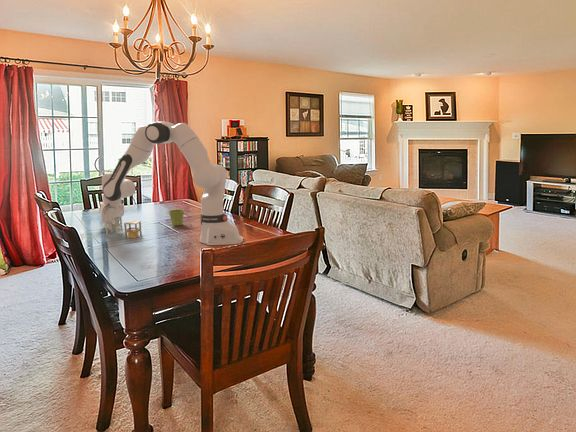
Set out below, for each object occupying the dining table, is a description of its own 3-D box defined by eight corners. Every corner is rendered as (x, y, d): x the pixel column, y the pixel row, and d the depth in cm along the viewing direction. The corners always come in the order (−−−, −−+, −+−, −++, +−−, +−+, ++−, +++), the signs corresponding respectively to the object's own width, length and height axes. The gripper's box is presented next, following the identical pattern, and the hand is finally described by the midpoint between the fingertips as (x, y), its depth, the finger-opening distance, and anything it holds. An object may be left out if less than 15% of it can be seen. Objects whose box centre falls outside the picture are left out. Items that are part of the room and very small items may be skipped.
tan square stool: (141, 235, 233) (140, 220, 232) (137, 238, 227) (136, 223, 225) (130, 235, 233) (129, 220, 232) (125, 238, 227) (124, 223, 226)
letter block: (138, 236, 232) (138, 228, 231) (135, 237, 228) (135, 230, 227) (131, 235, 232) (130, 228, 231) (128, 237, 228) (127, 230, 228)
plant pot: (166, 226, 255) (165, 212, 254) (173, 223, 264) (172, 209, 263) (181, 226, 254) (180, 212, 252) (187, 223, 263) (187, 209, 261)
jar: (124, 226, 256) (122, 201, 253) (109, 229, 247) (106, 203, 245) (113, 224, 262) (111, 200, 259) (98, 227, 253) (95, 202, 250)
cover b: (122, 231, 239) (121, 216, 238) (117, 233, 233) (116, 219, 231) (111, 230, 240) (110, 216, 238) (106, 233, 233) (104, 219, 232)
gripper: (109, 205, 223) (111, 231, 225) (125, 199, 243) (127, 223, 246) (97, 205, 223) (99, 231, 226) (114, 199, 243) (116, 223, 246)
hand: (114, 227), depth 236 cm, fingers closed on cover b, 6 cm apart
